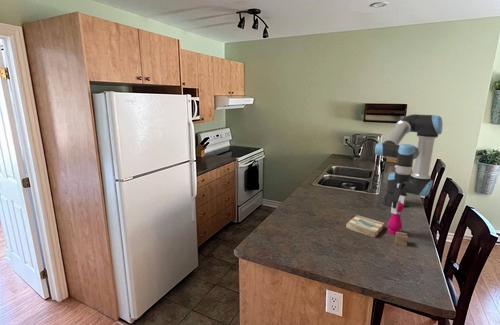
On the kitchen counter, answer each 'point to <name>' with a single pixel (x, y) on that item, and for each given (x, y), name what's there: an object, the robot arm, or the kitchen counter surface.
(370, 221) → the base plate
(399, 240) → the block
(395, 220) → the pepper mill
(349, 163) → the kitchen counter surface
